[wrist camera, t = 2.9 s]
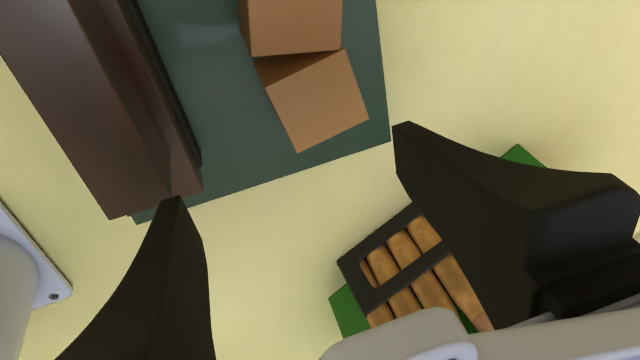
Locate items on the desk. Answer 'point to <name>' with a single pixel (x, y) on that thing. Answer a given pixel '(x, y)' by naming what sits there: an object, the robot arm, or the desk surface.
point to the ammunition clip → (408, 273)
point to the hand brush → (104, 98)
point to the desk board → (253, 94)
